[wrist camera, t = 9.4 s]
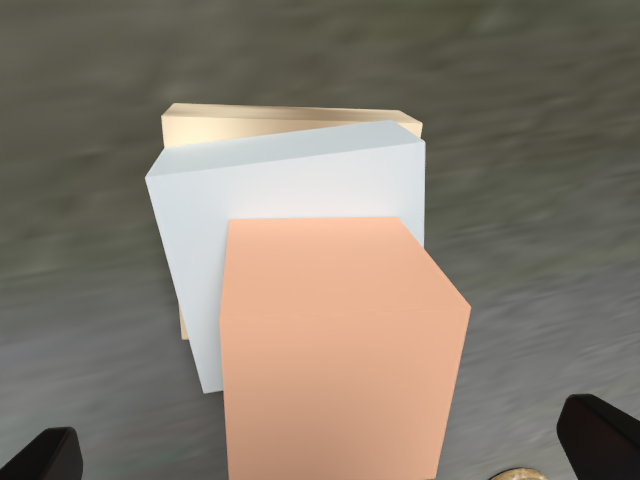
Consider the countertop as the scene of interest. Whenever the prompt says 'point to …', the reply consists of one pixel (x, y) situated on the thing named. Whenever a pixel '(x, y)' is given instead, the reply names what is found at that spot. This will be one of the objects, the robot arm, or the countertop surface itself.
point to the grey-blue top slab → (273, 203)
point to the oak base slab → (261, 125)
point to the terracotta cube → (336, 350)
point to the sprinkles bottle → (520, 475)
